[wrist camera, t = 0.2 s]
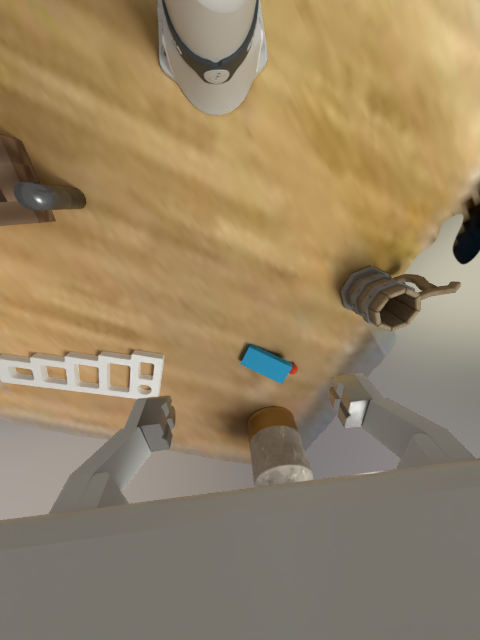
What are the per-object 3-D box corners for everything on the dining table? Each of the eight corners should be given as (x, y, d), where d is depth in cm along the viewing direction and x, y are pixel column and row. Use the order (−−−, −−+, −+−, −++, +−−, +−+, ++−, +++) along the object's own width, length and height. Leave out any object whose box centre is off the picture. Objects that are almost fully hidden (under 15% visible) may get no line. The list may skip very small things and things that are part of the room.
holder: (9, 375, 67) (1, 381, 65) (-5, 326, 59) (-14, 331, 57) (159, 395, 75) (157, 401, 73) (165, 353, 67) (163, 359, 65)
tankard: (345, 316, 65) (376, 344, 52) (337, 279, 59) (370, 300, 46) (413, 290, 63) (463, 313, 50) (411, 248, 57) (468, 261, 44)
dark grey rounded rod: (62, 188, 46) (8, 182, 34) (81, 186, 46) (34, 180, 34) (70, 209, 47) (22, 211, 36) (89, 208, 48) (46, 209, 36)
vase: (286, 438, 91) (312, 536, 64) (243, 436, 88) (252, 537, 61) (299, 408, 83) (337, 505, 56) (253, 404, 80) (268, 505, 53)
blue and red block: (244, 352, 75) (291, 375, 74) (240, 364, 68) (292, 388, 68) (252, 337, 72) (301, 360, 72) (249, 347, 66) (303, 372, 65)
